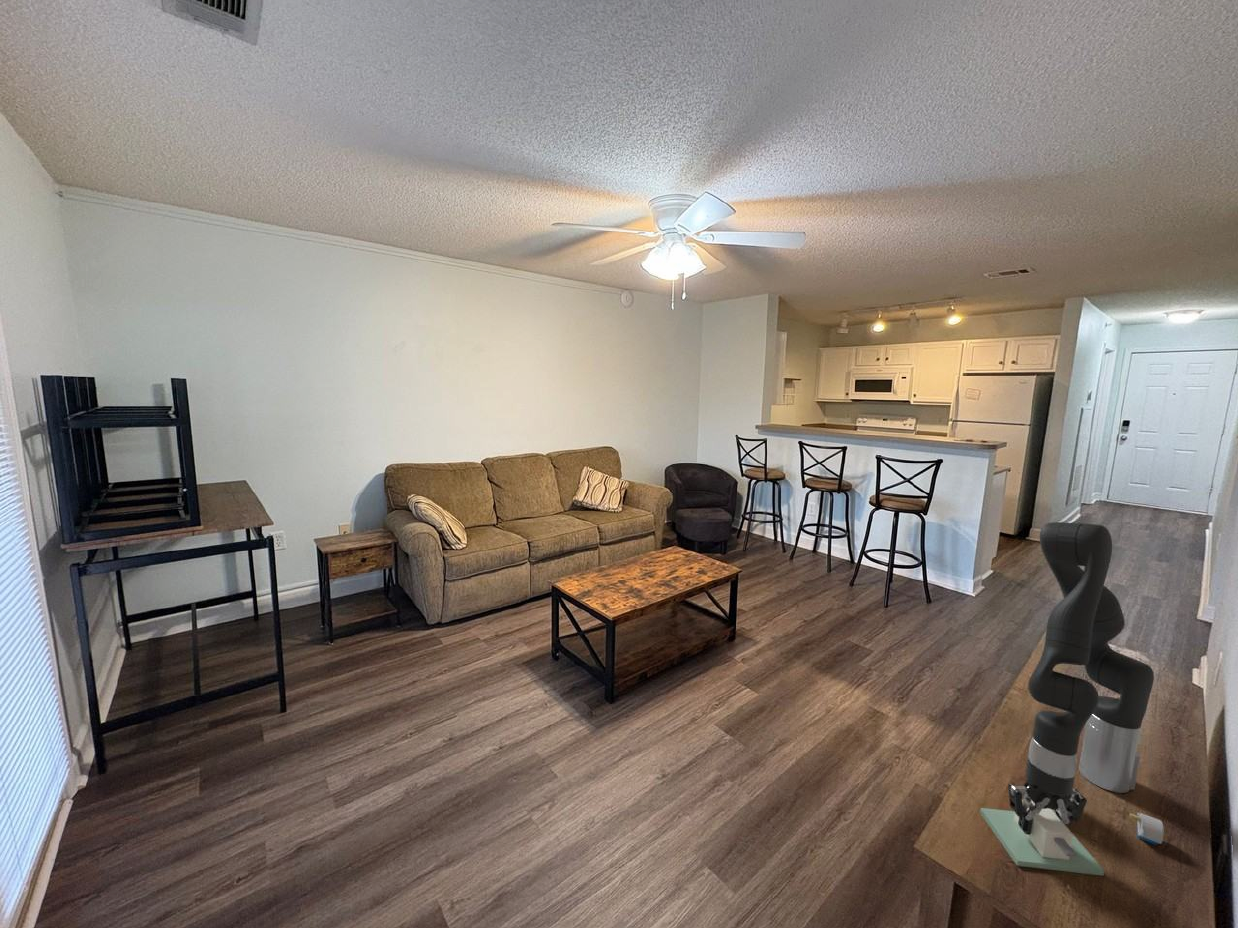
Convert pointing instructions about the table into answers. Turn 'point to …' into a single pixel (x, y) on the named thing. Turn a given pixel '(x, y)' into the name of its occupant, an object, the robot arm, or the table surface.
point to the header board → (1027, 853)
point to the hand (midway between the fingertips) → (1040, 832)
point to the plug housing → (1050, 835)
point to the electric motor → (1149, 828)
